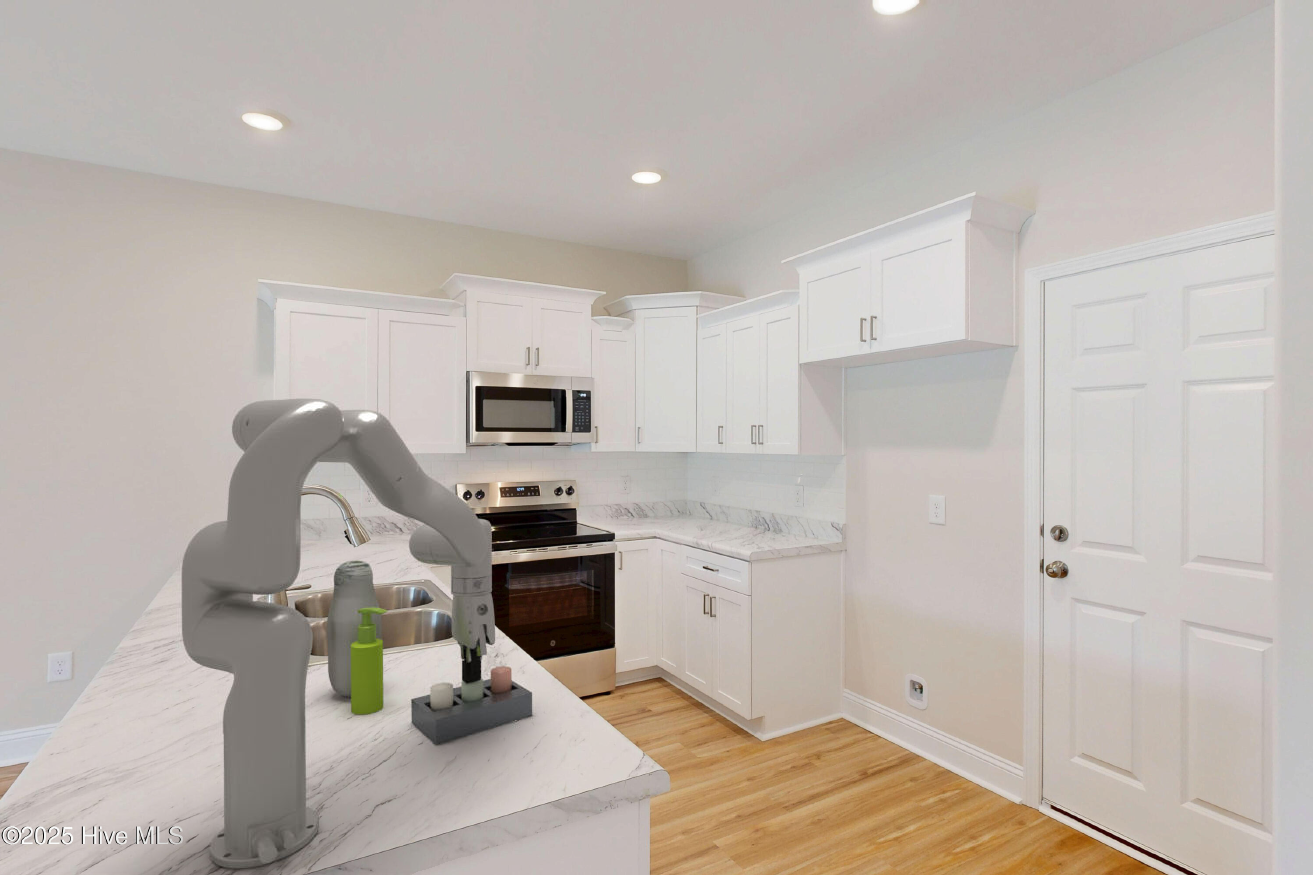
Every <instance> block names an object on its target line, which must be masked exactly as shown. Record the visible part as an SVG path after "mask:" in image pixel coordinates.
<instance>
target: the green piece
mask: <svg viewBox="0 0 1313 875" xmlns="http://www.w3.org/2000/svg"><path fill="white" fill-rule="evenodd" d="M483 681H484V679H483V678H481V680H479V681H475V682H470V683H465V682H464V681H462V680H461V682H460V683H461V684H460V685H461V686H460V687H461V691H462V701H463V702H465V703H468V702H472V701H475V700H479V699H483Z"/></svg>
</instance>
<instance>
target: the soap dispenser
mask: <svg viewBox="0 0 1313 875" xmlns="http://www.w3.org/2000/svg"><path fill="white" fill-rule="evenodd" d="M387 612H388V610H387V609H385V608H381V607H380V608H376V607H368V608H362V609H359V610H358V613H362V624H360V625H359V626H358V641H356V642H354V643H352V644H351V697H350V702H351V703H350V708H351V710H350V711H351V713H352V714H354V715H358V716H359V715H369V714H374V713H376V712H379V711H381V710H382V709H383V708H384V641H383V639H382V640H381V639H376V624H374V623H372V622H371V613H375V614H379V615H381V616H382V615H383V614H386V613H387Z"/></svg>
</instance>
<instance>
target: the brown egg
mask: <svg viewBox="0 0 1313 875" xmlns="http://www.w3.org/2000/svg"><path fill="white" fill-rule="evenodd" d="M512 674H513V673H512V667H510V666H496V667H494V668H491V669H490V679H491V693H493V694H494V695H497V694H501V693H504V692H508V691H512V681H513V680H512Z"/></svg>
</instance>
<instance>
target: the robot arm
mask: <svg viewBox="0 0 1313 875" xmlns="http://www.w3.org/2000/svg"><path fill="white" fill-rule="evenodd" d="M387 418H388V417H386V416H385V415H384V414H382V413H380V412H378V411H375V410H370V409H345V410H344V409H341V410H340V409H339V407H338V406H336V405H335V404H334V403H332V402H330V401H327V400H324V399H318V398H287V399H269V400H268V399H267V400H259V401H258V400H257V401H254V402H251V403H249V404H246V405H245V406H243V407H242V408H241V409H240V410H239V411H238V412H237V413H236V415H235V416H234V419H233V420H232V423H231V424H232V425H231V434H232V437H233V440H234V442H235V444H236V445H237V446H238V448H239V449H241V451H243V452H244V453H243V454H242V455H241V457H240V458H239V460H238V461H237V464H236V465H235V467H234V469H233V472H232V474H231V477H230V481H229V487H228V501H227V515H226V516H227V517H226V518H227V519H226V520H222V521H217V522H212V523H211V524H208V525H206V526H205V527H203V528H202V529H200V530H199V531H198V532H197V533H196V534H195V535H194V537H192V539H191V540H190V541H189V543H188V545H187V547H186V550H185V552H184V554H183V558H182V559H183V560H182V564H181V635H182V642H183V646H184V649H185V652H186V654H187V655H188V657H189V658H190V659H191V660H192V661H193V662H195V664H196V663H197V664H199V665H200V666H203V667H205V668H209V669H213V670H217V671H222V672H226V673H229V674H232V675H233V682H232V686H231V687H230V690H229V693H228V696H227V698H226V700H225V704H224V709H223V716H222V733H223V810H224V811H223V816H224V820H223V827H224V828H222V829H221V830H220V831H219V832H218V833H216V835H215V836H214V837H213V839H212V841H211V842H210V847H209V857H210V859H211V861H212V862H213V863H215V864H216V865H217V866H220V867H224V868H227V869H228V868H229V869H247V868H254V867H255V868H256V867H258V866H263V865H267V864H271V863H273V862H276V861H279V860H281V859H283V858H286V857H288V856H290V855H292V854H294V853H296V852H297V851H299V850H300V849H302V848H304V846H306V845H307V844H308V843H310V841H311V840H312V839H313V838H314V837H315V836H316V834H317V832H318V831H319V830H318V829H319V827H320V826H319V825H320V824H319V823H320V822H319V821H320V820H319V819H320V818H319V814H318V813H317V812H316V811H315V810H314V809H312V808H310V807H307V766H306V763H307V762H306V761H307V760H306V759H307V758H306V757H307V756H306V753H307V752H306V750H307V748H306V746H307V745H306V744H307V743H306V742H307V741H306V740H307V739H306V738H307V735H306V732H307V731H306V730H307V729H306V689H307V688H306V685H307V677H308V676H307V675H308V669H309V664H310V659H311V655H312V654H311V653H312V649H313V641H314V638H313V637H314V634H313V629H312V626H311V623H310V621H309V620H308V618H306V616H305V615H304V614H303V613H302V612H300V611H299V610H297V609H295V608H293V607H291V606H288V605H285V604H280V603H275V602H274V603H273V602H267V601H261V600H254V595H257V596H266V595H267V596H271V595H275V594H279V593H281V592H284V591H286V590H288V588H290V587H291V586H292V585H293V584H294V583H295V581H296V580H297V578H298V575H299V572H300V568H301V555H302V553H301V550H302V549H301V548H302V547H301V546H302V545H301V541H302V540H301V538H302V537H301V535H302V534H301V531H302V530H301V526H302V525H301V523H302V522H301V521H302V520H301V519H302V518H301V512H302V511H301V508H302V492H303V488H304V484H305V482H306V479H307V477H308V475H309V474H310V472H311V471H312V470H313V468H314V467H315V465H316V464H318V463H347V464H349V465H350V466H351V467H352V468H353V469H354V471H355V472H356V473H357V475H358V476H359V477H360V478H361V480H362V481H363V483H364V484H365V485H366V486H367V488H368V489H369V490H370V491H371V493H372V494H373V496H374V497H375V498H376V499H377V501H378V502H379V503H380V504H381V505H382V506H383V507H385V508H387V509H388V510H390V511H393V512H395V513H397V514H399V515H401V516H404V517H407V518H409V519H413V520H415V521H417V522H420V523H422V525H420V526H418V527H417V528H416V529H415V530H414V531H413V532H412V534H411V535H410V538H409V540H408V547H409V552H410V554H411V555H412V557H413V558H415V560H417V561H418V562H420V563H423V564H428V565H436V566H448V567H449V566H450V594H451V595H452V604H451V606H452V607H451V636H452V639H453V640H455V641H456V642H457V644H458V645H459V647H460V658H461V682H462V681H464V682H465V683H470V682H475V681H479V680H481V679H482V660H483V656H486V655H487V654H488V651H487V650H488V649H487V648H488V647H487V645H489V646H492V645H493V646H494V645H495V643H496V625H495V624H496V623H495V621H496V620H495V608H494V602H493V601H494V600H493V596H492V592H493V591H492V590H493V588H492V587H493V586H492V585H493V584H492V583H493V581H492V580H493V579H492V578H493V577H492V576H493V574H492V573H493V570H492V569H493V568H492V567H493V566H492V562H493V560H492V558H493V557H492V554H493V552H492V549H493V548H492V547H493V546H492V544H493V543H492V542H493V541H492V538H493V537H492V532H493V531H492V530H493V529H492V524H491V523H490V521H489V520H486V519H484V518H483V519H482V518H478V516H477V515H476V513H475V511H474V510H473V509H472V508H471V507H470V506H469V505H468V503H467V502H466V501H465V500H463V499H462V498H461V497H459V496H458V495H457V494H456V493H454V492H453V491H452V490H450V489H448V488H447V487H445V486H444V485H443V484H442V483H440V482H439V481H437V480H435V479H433V478H432V477H431V476H429V475H428V474H427V473H425V471H424V470H423V468H421V465H420V464H419V463H418V461H417V460H416V458H415V457H414V455H413V454H412V452H411V451H410V450H409V448H408V447H407V445H406V443H405V442H404V440H403V439H402V437H401V436H400V434H399V433H398V432H397V430H396V429H395V427H394V426H393V425H392V423H391V422H390V421H389V419H387Z"/></svg>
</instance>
